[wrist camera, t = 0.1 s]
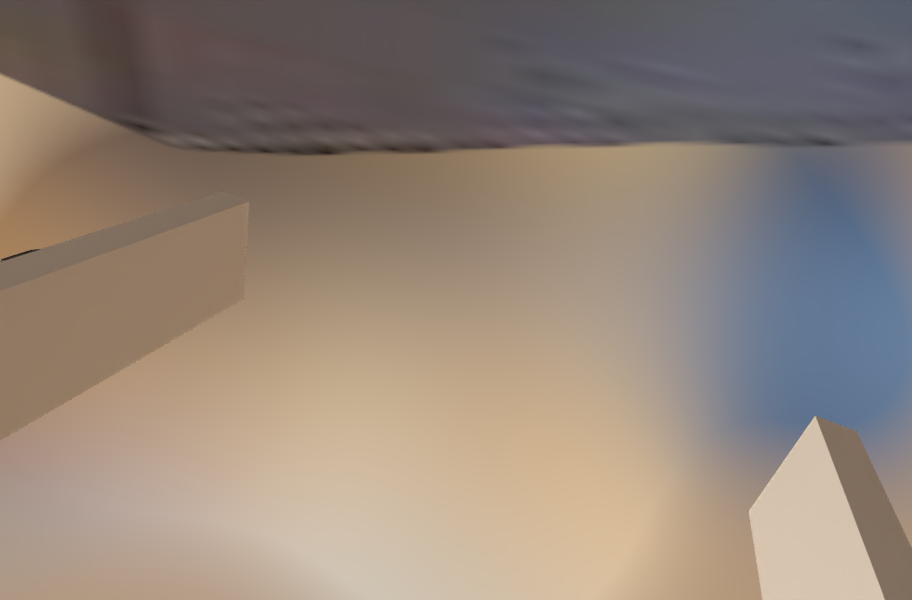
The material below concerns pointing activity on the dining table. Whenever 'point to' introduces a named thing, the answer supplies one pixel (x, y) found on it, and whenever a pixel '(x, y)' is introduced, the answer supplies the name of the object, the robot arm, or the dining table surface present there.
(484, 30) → the dining table surface
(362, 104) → the dining table surface
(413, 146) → the dining table surface
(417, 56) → the dining table surface
